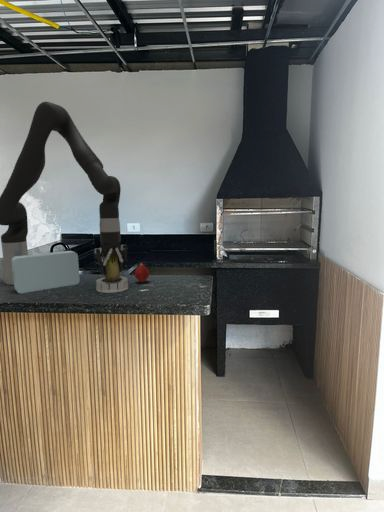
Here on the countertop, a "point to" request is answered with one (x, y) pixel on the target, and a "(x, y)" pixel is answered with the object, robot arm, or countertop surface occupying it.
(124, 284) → the white low ring
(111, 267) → the fennel bulb
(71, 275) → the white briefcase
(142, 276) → the onion
